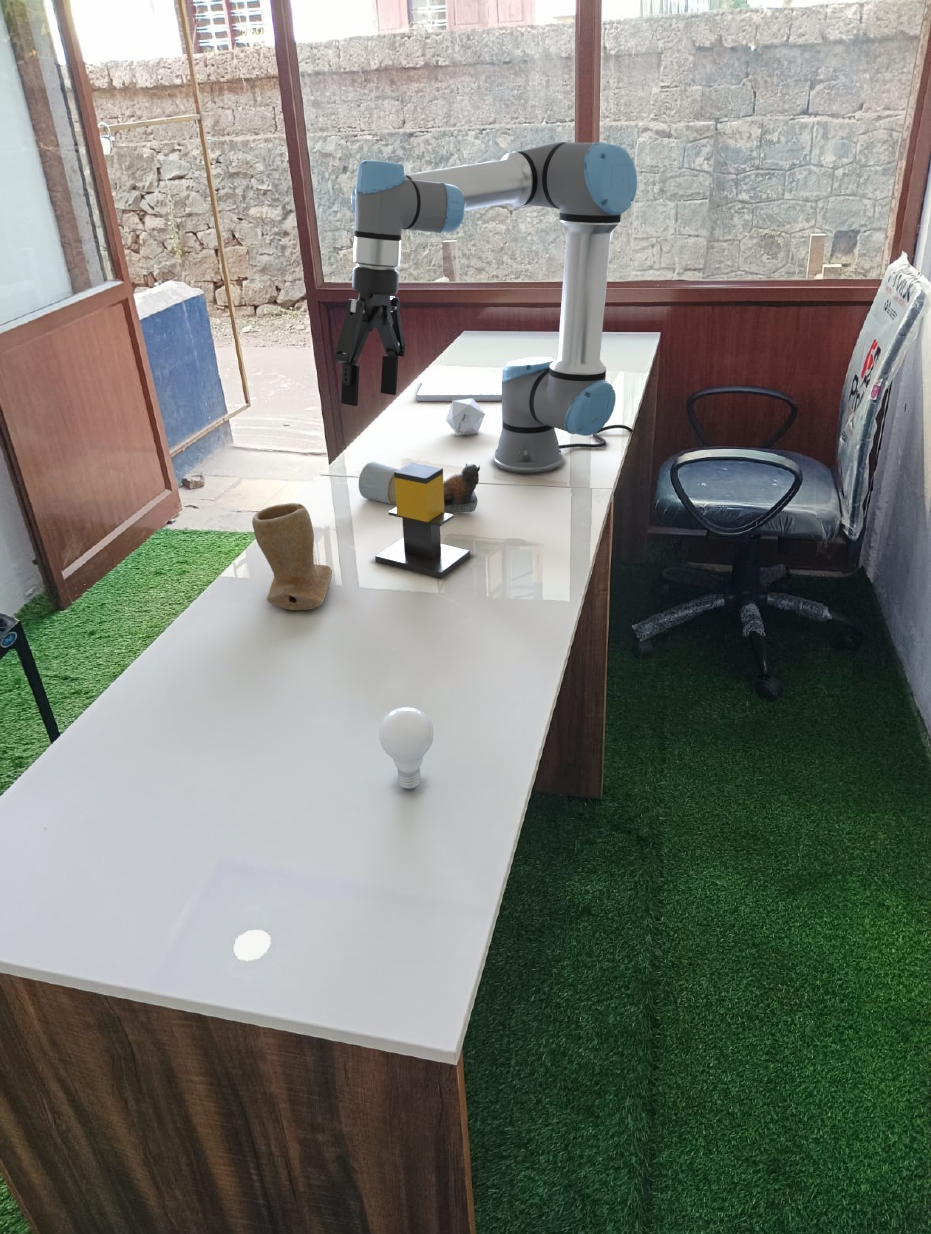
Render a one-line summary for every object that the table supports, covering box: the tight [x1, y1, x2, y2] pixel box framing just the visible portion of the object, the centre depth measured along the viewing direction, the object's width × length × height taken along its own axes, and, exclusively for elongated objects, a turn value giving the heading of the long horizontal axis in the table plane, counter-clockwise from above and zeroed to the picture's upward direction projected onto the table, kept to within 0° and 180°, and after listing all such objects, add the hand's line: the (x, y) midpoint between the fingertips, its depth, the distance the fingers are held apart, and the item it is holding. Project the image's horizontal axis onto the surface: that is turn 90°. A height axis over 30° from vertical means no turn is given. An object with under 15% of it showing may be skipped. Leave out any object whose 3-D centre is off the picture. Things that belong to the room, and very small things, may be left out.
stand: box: [374, 507, 471, 579], centre depth 163 cm, size 10×14×9 cm
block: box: [394, 462, 445, 522], centre depth 159 cm, size 6×6×8 cm
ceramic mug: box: [358, 461, 399, 505], centre depth 189 cm, size 11×8×8 cm
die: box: [445, 398, 486, 437], centre depth 225 cm, size 8×9×10 cm
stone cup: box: [251, 502, 333, 611], centre depth 152 cm, size 15×12×15 cm
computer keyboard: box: [416, 380, 502, 402], centre depth 258 cm, size 43×19×2 cm, turn 85°
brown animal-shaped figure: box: [443, 463, 481, 513], centre depth 182 cm, size 12×7×10 cm, turn 72°
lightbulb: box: [378, 706, 434, 790], centre depth 108 cm, size 6×6×11 cm
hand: (369, 399), depth 157 cm, fingers open, 13 cm apart
